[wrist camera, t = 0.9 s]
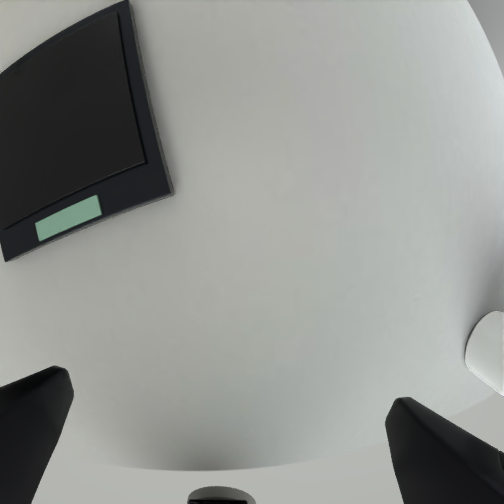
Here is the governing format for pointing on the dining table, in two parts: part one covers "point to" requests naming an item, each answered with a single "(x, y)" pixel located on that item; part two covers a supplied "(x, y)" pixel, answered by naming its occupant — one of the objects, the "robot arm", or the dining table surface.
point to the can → (487, 350)
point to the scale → (77, 134)
